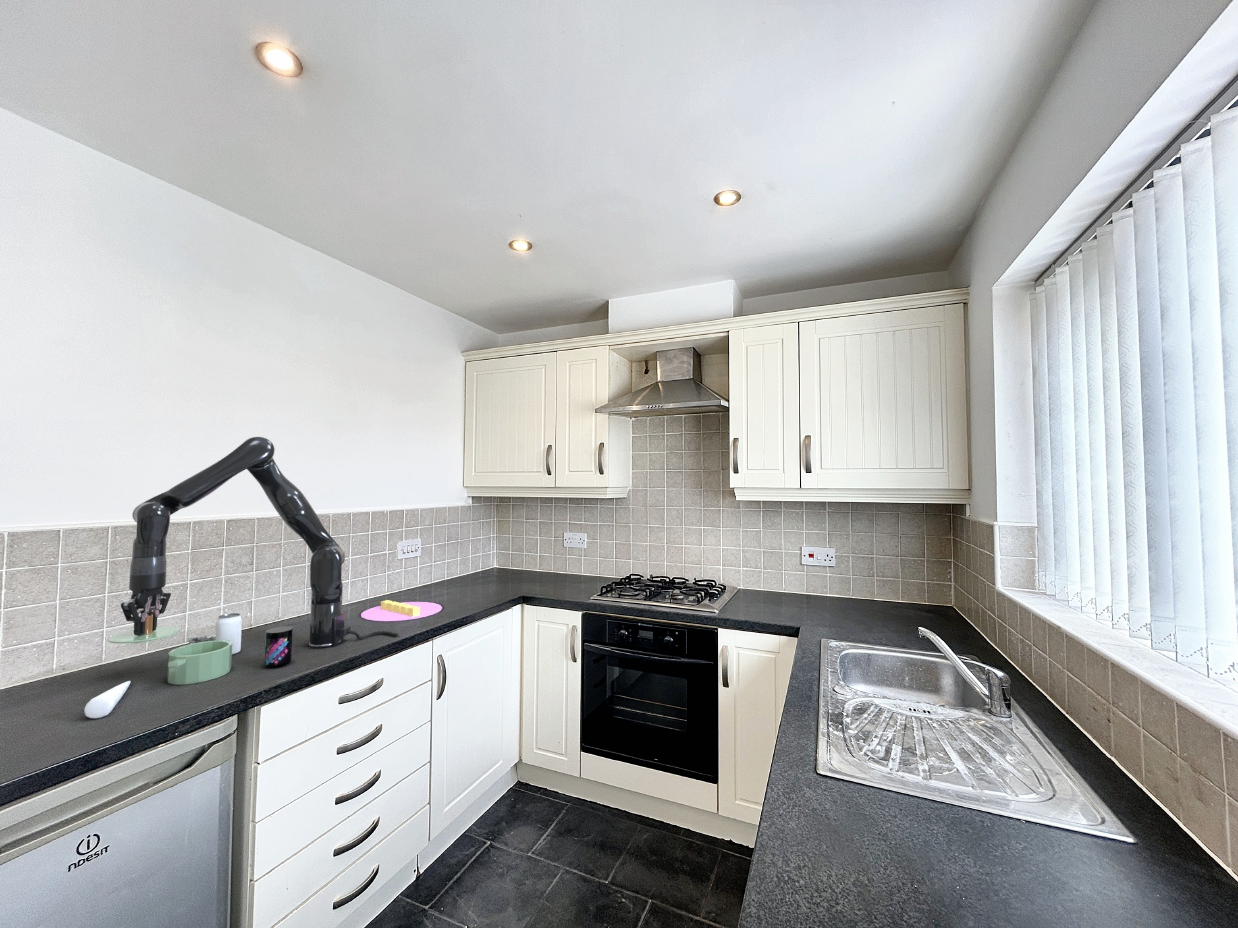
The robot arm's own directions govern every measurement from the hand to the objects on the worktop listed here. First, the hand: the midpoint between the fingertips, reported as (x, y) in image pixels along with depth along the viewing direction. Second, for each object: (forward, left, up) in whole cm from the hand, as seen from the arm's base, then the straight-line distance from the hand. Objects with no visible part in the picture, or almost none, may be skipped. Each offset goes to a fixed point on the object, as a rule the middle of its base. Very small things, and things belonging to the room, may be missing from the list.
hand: (145, 632), depth 139 cm
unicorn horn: (-8, +18, -12) cm, 23 cm away
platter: (-47, -68, -12) cm, 83 cm away
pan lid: (0, 0, -1) cm, 1 cm away
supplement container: (-33, -6, -12) cm, 36 cm away
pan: (-16, +1, -12) cm, 20 cm away
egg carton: (-1, -21, -12) cm, 24 cm away
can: (-11, -17, -12) cm, 23 cm away
